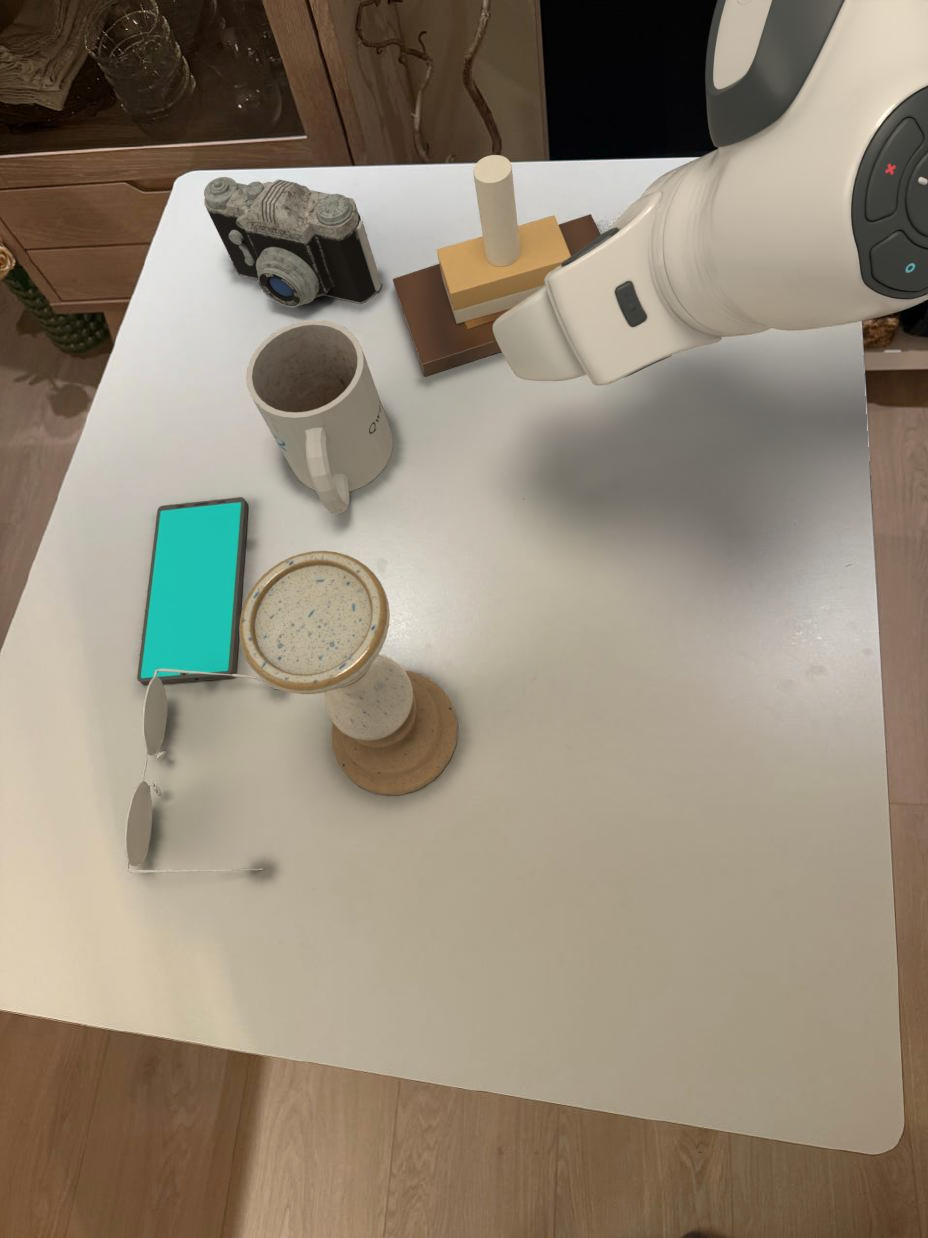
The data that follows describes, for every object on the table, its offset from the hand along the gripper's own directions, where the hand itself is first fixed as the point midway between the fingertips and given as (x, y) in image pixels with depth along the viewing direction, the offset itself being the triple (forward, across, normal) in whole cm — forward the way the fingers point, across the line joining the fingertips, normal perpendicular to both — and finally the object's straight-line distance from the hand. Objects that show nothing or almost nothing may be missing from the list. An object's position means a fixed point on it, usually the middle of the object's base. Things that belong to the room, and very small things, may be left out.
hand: (602, 278), depth 60 cm
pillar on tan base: (+17, 0, -2) cm, 17 cm away
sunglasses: (+2, +40, +16) cm, 43 cm away
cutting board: (+18, 0, 0) cm, 18 cm away
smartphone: (+12, +35, +6) cm, 37 cm away
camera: (+28, +14, -10) cm, 33 cm away
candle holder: (-1, +28, +19) cm, 34 cm away
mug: (+14, +21, +4) cm, 25 cm away
